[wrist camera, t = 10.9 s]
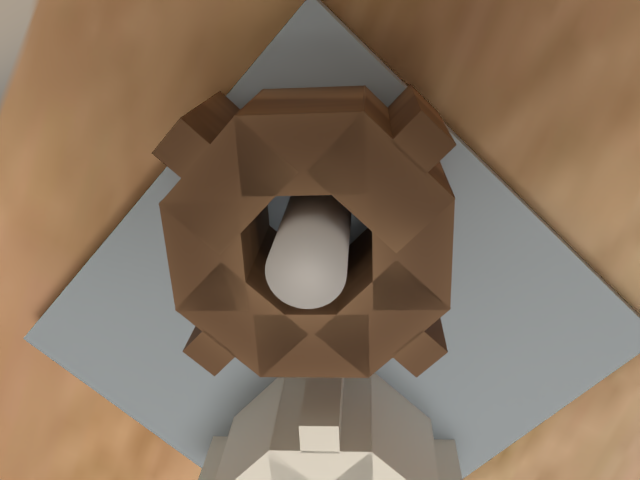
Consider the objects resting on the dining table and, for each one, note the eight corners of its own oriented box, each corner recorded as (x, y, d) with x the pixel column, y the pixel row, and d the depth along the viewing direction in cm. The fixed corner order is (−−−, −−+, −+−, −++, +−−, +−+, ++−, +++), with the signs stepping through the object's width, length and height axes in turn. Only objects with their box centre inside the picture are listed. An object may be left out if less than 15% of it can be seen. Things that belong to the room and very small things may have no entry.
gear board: (314, -6, 22) (288, -4, 15) (644, 319, 26) (746, 441, 19) (40, 321, 28) (-68, 430, 21) (339, 542, 32) (331, 695, 25)
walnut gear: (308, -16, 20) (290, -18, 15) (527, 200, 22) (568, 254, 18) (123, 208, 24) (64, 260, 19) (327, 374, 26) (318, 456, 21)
